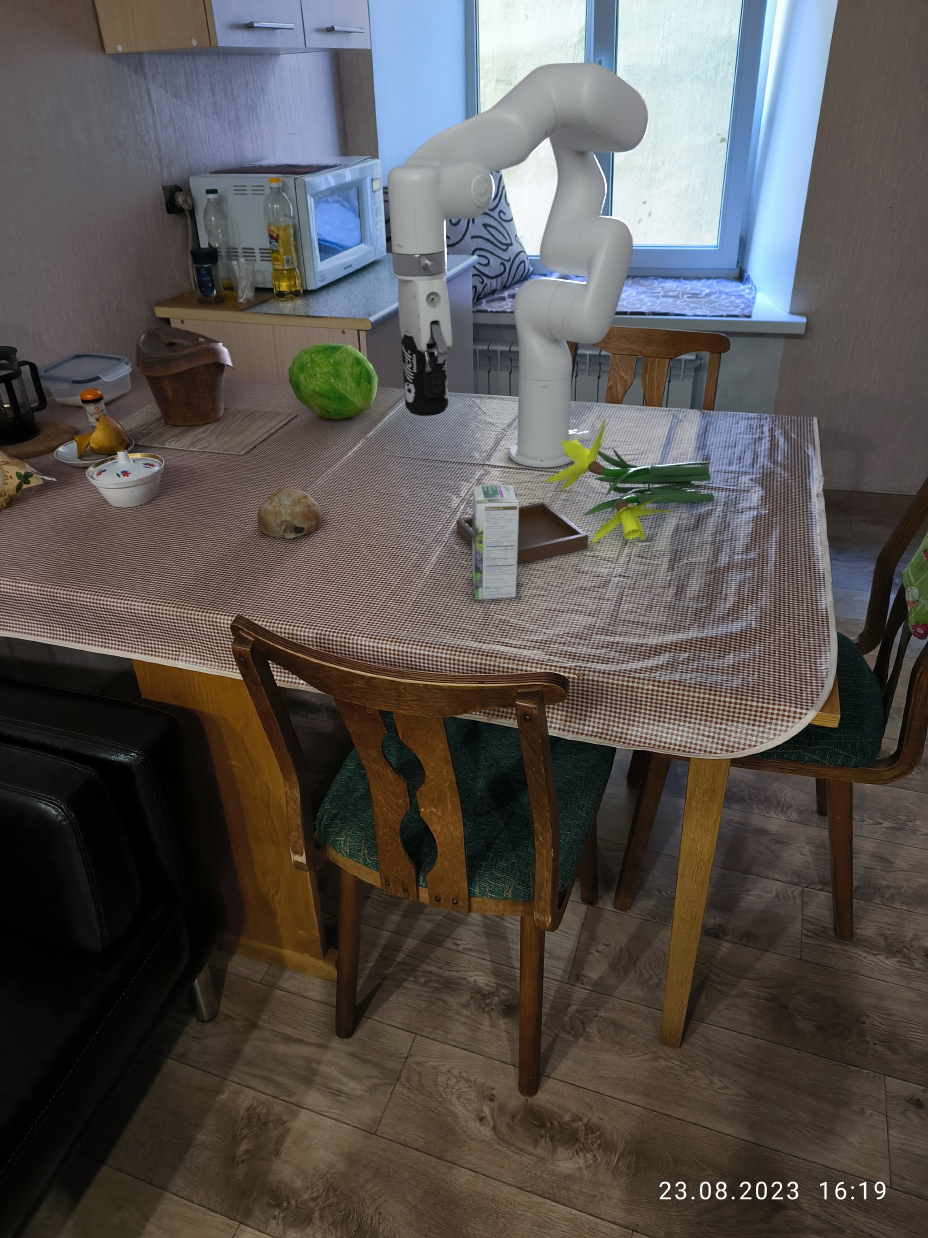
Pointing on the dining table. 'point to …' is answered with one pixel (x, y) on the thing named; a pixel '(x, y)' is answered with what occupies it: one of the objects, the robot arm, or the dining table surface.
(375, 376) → the lettuce
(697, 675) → the dining table surface
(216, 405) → the brown tapered bucket shape
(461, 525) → the tray
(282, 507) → the bread roll
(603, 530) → the daffodil flowers
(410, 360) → the beverage can
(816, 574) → the dining table surface
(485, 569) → the syrup box
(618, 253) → the robot arm
